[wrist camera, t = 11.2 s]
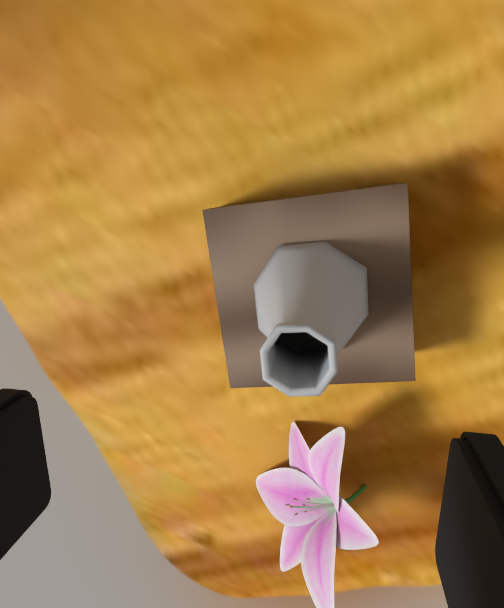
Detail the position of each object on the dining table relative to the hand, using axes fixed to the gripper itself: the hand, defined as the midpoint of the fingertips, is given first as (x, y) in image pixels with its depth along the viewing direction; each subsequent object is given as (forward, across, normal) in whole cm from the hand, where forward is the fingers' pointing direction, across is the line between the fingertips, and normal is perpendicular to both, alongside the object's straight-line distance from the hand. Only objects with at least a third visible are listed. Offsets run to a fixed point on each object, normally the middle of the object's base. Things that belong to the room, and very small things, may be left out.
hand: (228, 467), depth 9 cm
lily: (+22, -2, +16) cm, 28 cm away
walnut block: (+23, -1, +1) cm, 23 cm away
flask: (+18, -1, +1) cm, 18 cm away
